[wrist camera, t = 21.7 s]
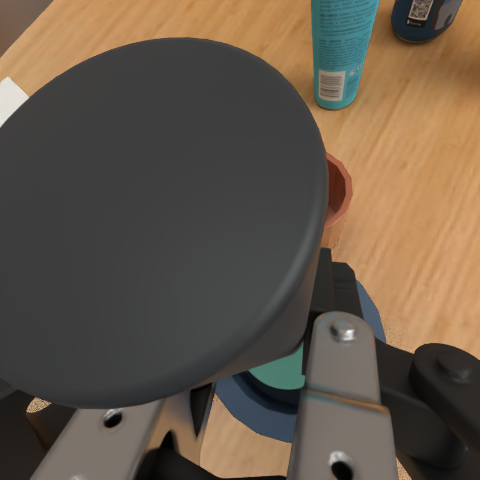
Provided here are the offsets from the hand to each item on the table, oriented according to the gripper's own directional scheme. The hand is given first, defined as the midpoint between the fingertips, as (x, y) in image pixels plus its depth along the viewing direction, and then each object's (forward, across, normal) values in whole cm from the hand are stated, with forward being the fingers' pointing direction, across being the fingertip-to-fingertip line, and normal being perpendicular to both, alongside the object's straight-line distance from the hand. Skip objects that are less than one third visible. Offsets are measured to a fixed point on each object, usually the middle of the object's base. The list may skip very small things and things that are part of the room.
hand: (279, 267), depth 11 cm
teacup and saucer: (+28, +48, -1) cm, 56 cm away
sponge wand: (+5, 0, +8) cm, 10 cm away
